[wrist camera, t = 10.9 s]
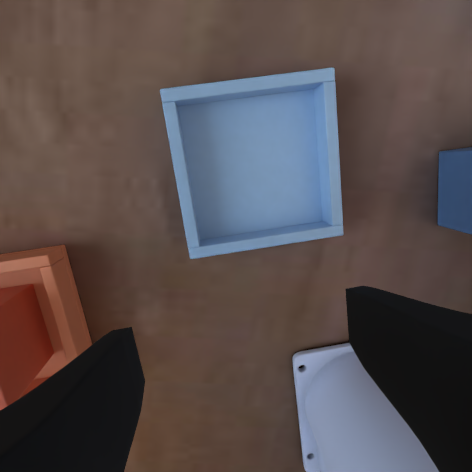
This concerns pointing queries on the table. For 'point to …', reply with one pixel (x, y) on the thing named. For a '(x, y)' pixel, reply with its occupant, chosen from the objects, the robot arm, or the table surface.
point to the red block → (21, 341)
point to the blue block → (455, 189)
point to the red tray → (50, 302)
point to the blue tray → (256, 160)
